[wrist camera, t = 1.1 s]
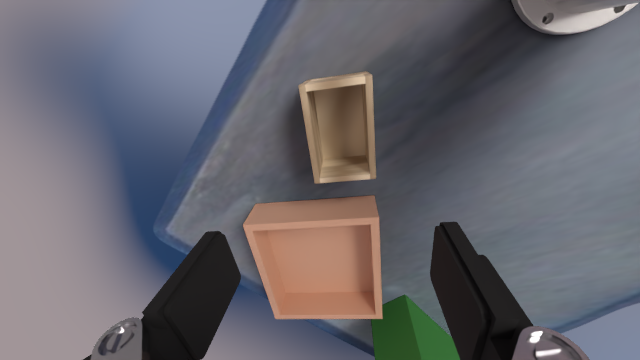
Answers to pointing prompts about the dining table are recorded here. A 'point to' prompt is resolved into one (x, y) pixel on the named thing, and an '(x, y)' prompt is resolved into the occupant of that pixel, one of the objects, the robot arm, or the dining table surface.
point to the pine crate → (340, 127)
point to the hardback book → (410, 334)
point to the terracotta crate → (319, 257)
